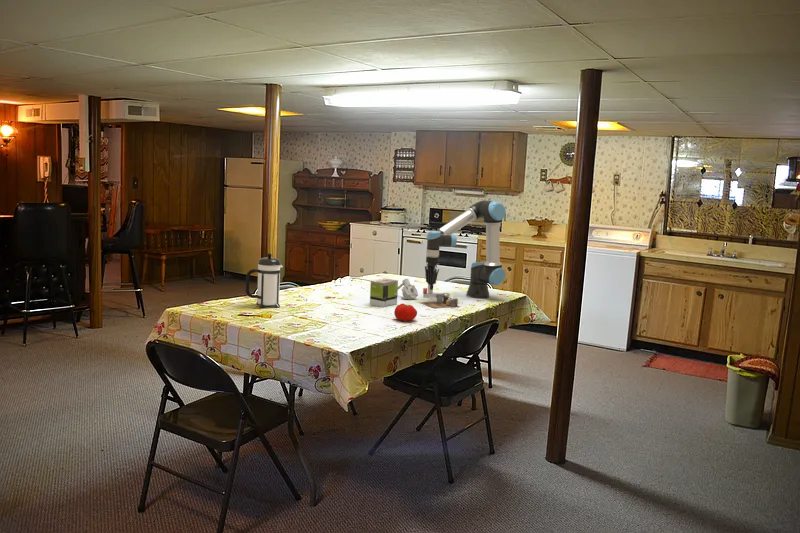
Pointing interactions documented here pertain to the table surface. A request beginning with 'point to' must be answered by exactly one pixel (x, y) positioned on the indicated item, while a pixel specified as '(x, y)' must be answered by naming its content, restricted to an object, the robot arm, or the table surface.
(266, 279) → the coffee press
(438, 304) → the board
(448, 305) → the walnut
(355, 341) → the table surface
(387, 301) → the tea box
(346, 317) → the table surface
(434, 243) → the robot arm
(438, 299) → the lever
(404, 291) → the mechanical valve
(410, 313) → the tomato
